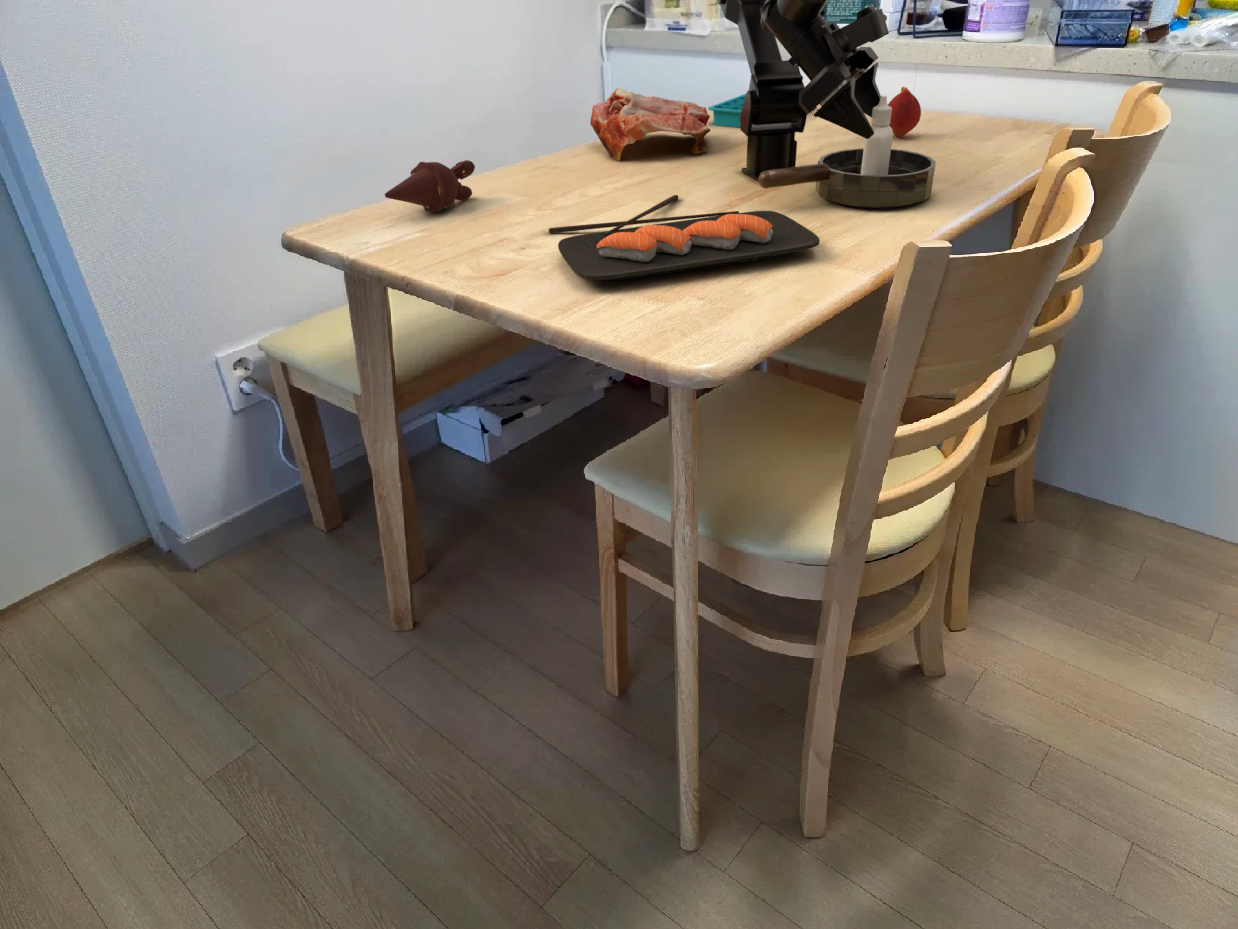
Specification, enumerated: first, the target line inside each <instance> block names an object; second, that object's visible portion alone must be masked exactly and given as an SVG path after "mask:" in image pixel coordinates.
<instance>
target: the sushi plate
mask: <svg viewBox="0 0 1238 929" xmlns="http://www.w3.org/2000/svg"><path fill="white" fill-rule="evenodd" d="M678 200H679V195H678V194H674V195H671V196H670V197H668V198H666V199H664V200H662V201H660V202H659V203H657V204H655V205H654V206H651V207H650V208H649V209H646V210H645V211H643V212H641V213H639V214H637V215H636V216H634V217H632V218H630V219H628V220H624V221H622V220H621V221H611V222H599V223H588V224H577V225H566V226H555V227H549V228H548V234H558V233H559V234H560V233H568V232H569V233H570V232H578V231H587V230H598V229H607V228H612V229H610V230H605V231H598V232H590V233H584V234H578V235H573V236H569V237H565V238H562V239H560V240H559V241H558V244H557V249H558V251H559V253H560V255H561V256H562V258H563V260H564V261H565V262H566V263H567V265H568V267H570V269H571V270H572V272H574V273H575V274H576V275H577V276H578V277H580V278H582V279H585V280H588V281H589V280H590V281H602V280H604V281H626V280H634V279H639V278H646V277H653V276H659V275H666V274H673V273H680V272H686V271H692V270H699V269H706V268H712V267H719V266H727V265H733V264H739V263H747V262H752V261H759V260H760V261H761V260H765V259H772V258H777V257H781V256H783V255H785V254H790V253H794V252H800V251H806V250H810V249H813V248H816V247H818V246H819V245H820V242H821V240H820V237H819V236H818V235H817V234H816V233H814V232H813V231H811V230H810V229H808V228H807V227H805V226H804V225H802V224H801V223H800V222H798V221H796V220H794V219H792V218H790V217H789V216H787V215H785V214H783V213H780V212H778V211H774V210H773V211H772V210H754V211H746V212H745V211H743V212H740V211H739V210H734V211H722V212H721V211H720V212H712V213H711V212H710V213H701V214H690V215H680V216H679V215H678V216H668V217H659V218H647V219H642V218H643V217H646V216H648V215H649V214H652V213H654V212H656V211H659V210H660V209H663V208H664V207H666V206H668V205H670V204H672V203H674V202H676V201H678ZM669 221H670V222H669ZM662 222H663V223H662ZM651 223H652V224H651ZM653 223H656V224H653ZM643 224H647V225H643ZM633 225H642V226H633ZM626 226H633V227H626ZM624 227H625V228H624Z"/></svg>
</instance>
